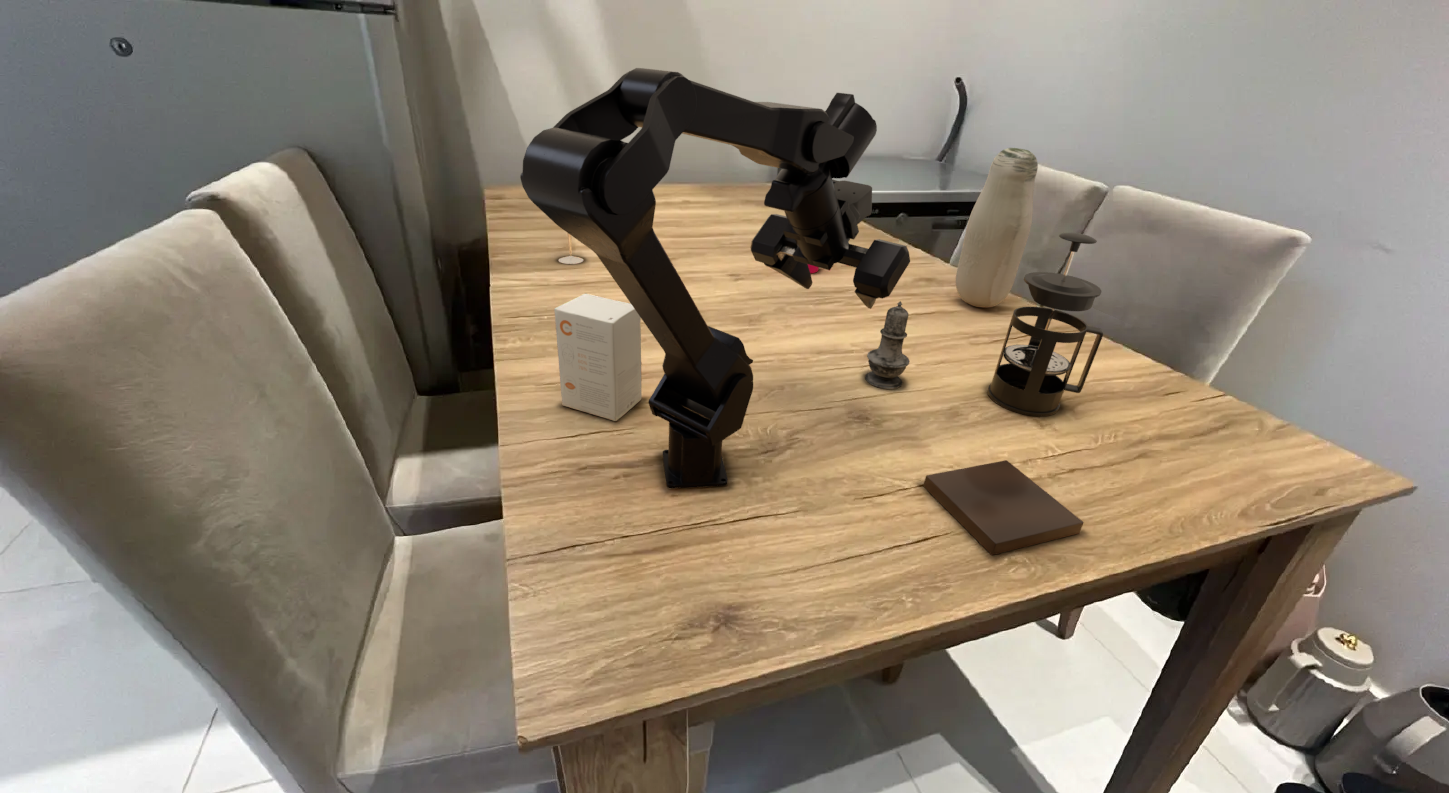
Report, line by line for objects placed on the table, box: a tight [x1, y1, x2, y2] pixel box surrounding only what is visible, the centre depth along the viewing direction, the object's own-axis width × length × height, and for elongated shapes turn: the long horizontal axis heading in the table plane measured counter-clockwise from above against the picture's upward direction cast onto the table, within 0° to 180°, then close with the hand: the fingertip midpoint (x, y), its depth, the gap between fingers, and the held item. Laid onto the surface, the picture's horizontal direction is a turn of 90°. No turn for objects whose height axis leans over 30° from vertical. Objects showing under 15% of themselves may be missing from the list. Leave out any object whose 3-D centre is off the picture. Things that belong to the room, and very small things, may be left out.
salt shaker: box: [864, 300, 911, 390], centre depth 87 cm, size 6×6×12 cm
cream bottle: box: [955, 147, 1039, 308], centre depth 113 cm, size 10×10×28 cm
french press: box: [986, 232, 1104, 417], centre depth 82 cm, size 12×9×23 cm
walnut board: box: [923, 459, 1085, 556], centre depth 65 cm, size 11×11×2 cm
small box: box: [553, 293, 643, 422], centre depth 76 cm, size 8×6×13 cm
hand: (839, 295), depth 81 cm, fingers open, 9 cm apart
